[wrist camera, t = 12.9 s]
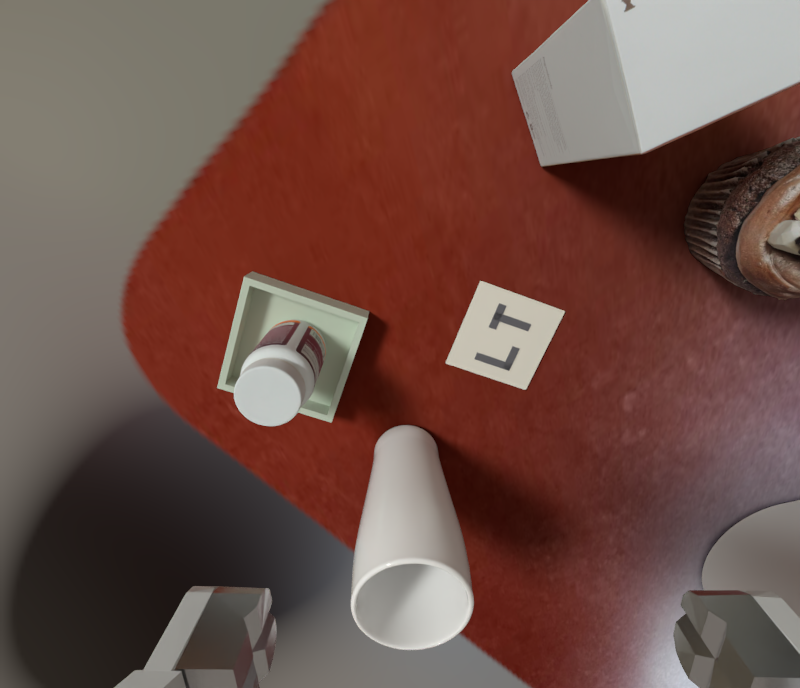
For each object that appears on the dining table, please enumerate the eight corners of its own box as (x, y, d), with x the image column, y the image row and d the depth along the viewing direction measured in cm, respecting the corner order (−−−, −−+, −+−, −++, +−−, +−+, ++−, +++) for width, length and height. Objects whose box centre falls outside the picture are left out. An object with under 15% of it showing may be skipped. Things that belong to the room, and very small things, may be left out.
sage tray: (369, 311, 33) (367, 318, 32) (334, 410, 36) (331, 422, 34) (252, 271, 32) (243, 276, 31) (226, 377, 35) (217, 387, 33)
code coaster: (564, 311, 34) (565, 311, 33) (525, 389, 36) (526, 390, 36) (480, 280, 33) (480, 280, 33) (445, 362, 35) (445, 363, 35)
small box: (539, 169, 30) (638, 159, 18) (508, 71, 28) (596, -16, 16) (656, 114, 29) (846, 64, 17) (633, 9, 27) (830, -135, 15)
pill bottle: (257, 363, 34) (217, 417, 26) (275, 308, 33) (237, 348, 25) (316, 384, 35) (293, 442, 27) (335, 331, 34) (318, 376, 26)
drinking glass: (429, 403, 36) (452, 543, 22) (456, 468, 38) (492, 633, 24) (353, 429, 37) (328, 581, 23) (383, 491, 39) (377, 665, 25)
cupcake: (749, 301, 34) (888, 347, 24) (643, 249, 32) (746, 276, 23) (839, 178, 31) (1036, 176, 21) (726, 115, 29) (884, 82, 20)
